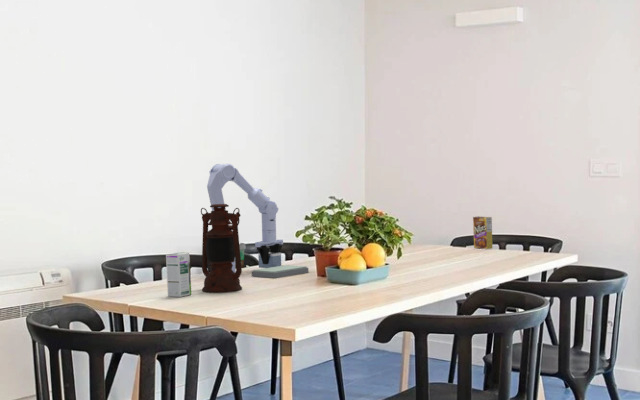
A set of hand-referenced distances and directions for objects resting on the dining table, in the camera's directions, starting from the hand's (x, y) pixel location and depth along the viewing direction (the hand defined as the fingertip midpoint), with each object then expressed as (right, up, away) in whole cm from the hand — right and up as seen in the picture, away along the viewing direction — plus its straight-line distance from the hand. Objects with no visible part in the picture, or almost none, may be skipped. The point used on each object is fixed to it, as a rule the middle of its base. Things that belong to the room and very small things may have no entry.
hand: (269, 263), depth 367 cm
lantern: (-14, -6, -53) cm, 55 cm away
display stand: (+5, -3, -14) cm, 15 cm away
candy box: (+99, +2, +67) cm, 120 cm away
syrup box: (-27, -7, -65) cm, 70 cm away
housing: (0, -2, 0) cm, 2 cm away
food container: (-15, -3, +14) cm, 20 cm away
